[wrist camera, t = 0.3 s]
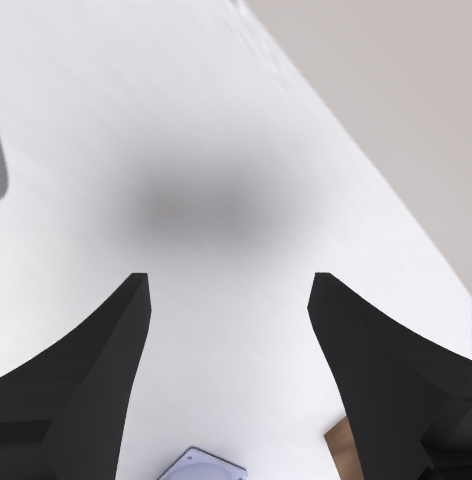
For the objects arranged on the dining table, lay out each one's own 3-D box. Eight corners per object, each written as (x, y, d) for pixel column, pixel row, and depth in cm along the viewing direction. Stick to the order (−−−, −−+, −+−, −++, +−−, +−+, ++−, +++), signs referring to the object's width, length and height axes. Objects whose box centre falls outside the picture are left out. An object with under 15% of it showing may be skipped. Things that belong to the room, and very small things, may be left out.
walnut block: (349, 449, 34) (378, 512, 28) (323, 435, 32) (348, 498, 27) (378, 425, 33) (413, 486, 27) (352, 410, 31) (384, 470, 26)
